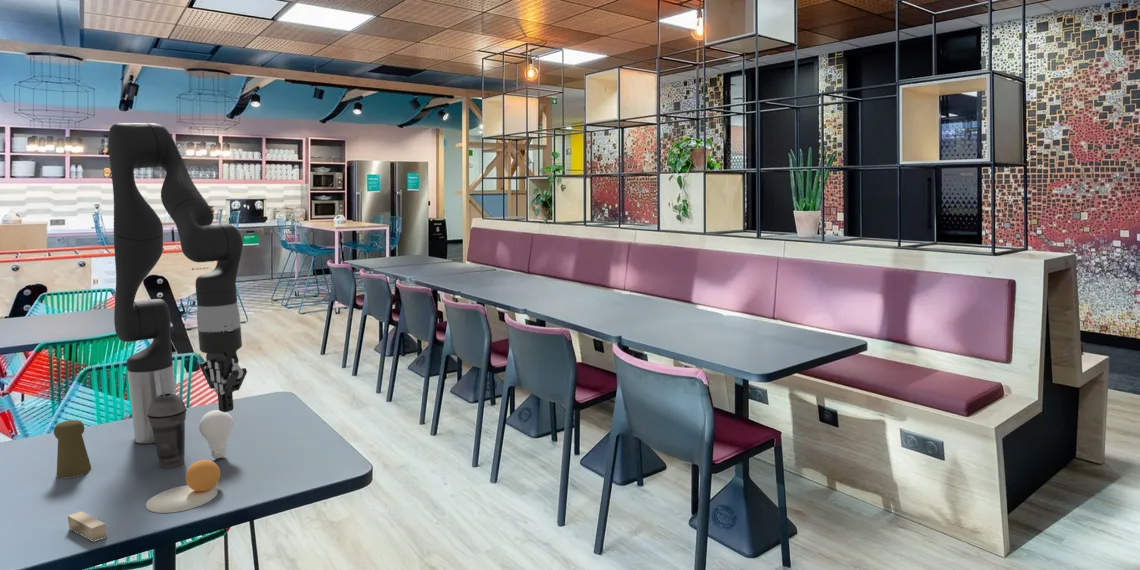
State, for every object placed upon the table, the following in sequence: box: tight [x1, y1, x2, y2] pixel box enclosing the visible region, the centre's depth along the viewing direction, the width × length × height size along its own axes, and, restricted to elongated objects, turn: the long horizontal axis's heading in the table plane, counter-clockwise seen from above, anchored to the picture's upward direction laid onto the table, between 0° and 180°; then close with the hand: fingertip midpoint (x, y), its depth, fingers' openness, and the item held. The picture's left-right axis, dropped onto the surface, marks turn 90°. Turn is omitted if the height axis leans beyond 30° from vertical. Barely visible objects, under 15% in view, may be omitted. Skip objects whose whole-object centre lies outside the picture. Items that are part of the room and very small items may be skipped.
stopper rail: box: [67, 510, 108, 541], centre depth 119 cm, size 9×2×2 cm, turn 57°
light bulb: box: [198, 409, 234, 460], centre depth 151 cm, size 7×7×11 cm
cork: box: [53, 419, 92, 479], centre depth 145 cm, size 6×6×11 cm
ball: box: [185, 459, 221, 492], centre depth 135 cm, size 6×6×6 cm
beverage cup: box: [148, 373, 188, 469], centre depth 148 cm, size 7×7×20 cm
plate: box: [145, 484, 219, 514], centre depth 132 cm, size 12×12×1 cm
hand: (226, 410), depth 139 cm, fingers closed
